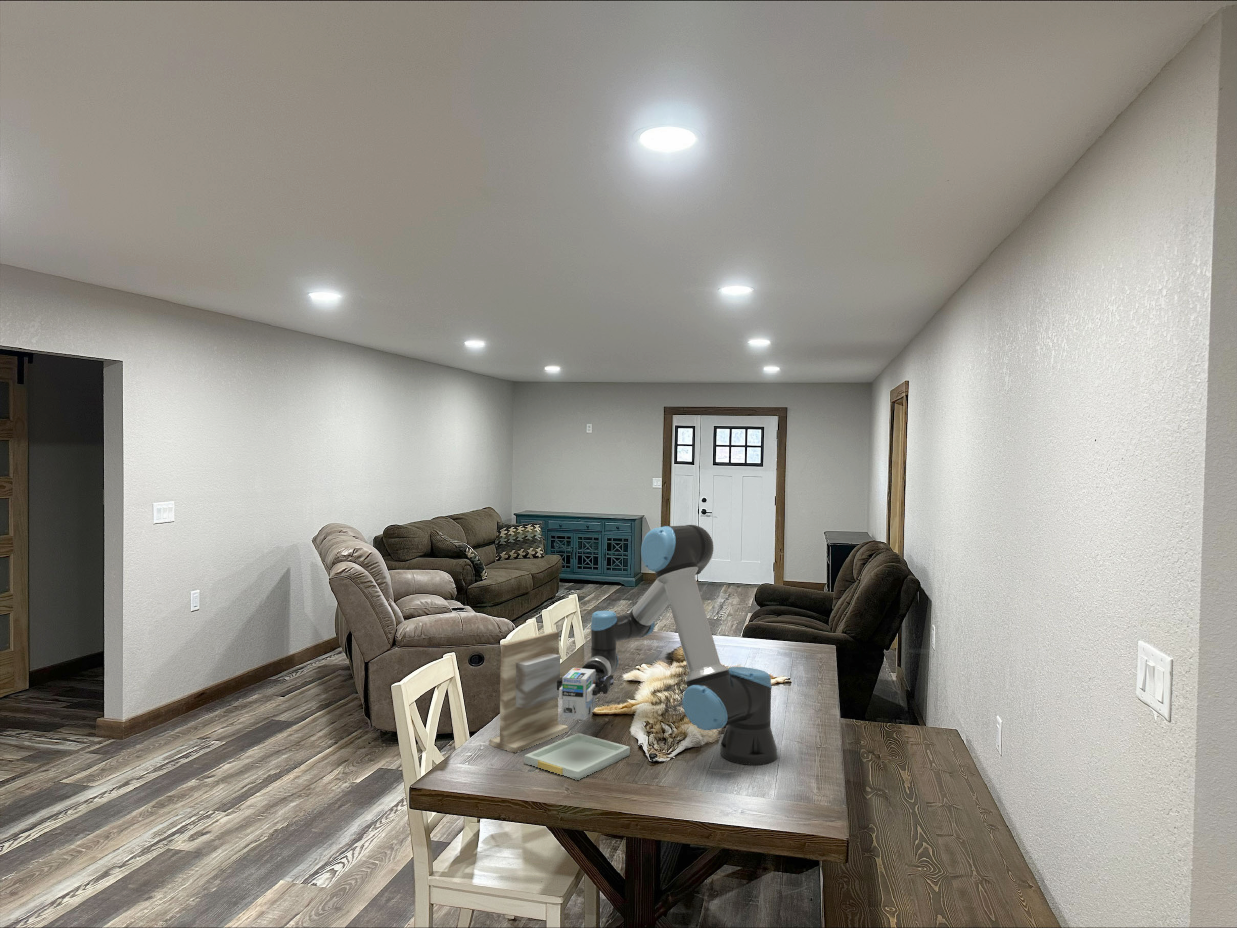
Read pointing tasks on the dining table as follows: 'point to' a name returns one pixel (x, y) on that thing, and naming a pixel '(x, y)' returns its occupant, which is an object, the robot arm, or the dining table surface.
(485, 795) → the dining table surface
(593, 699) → the light bulb box
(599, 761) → the tray
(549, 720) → the wall unit
